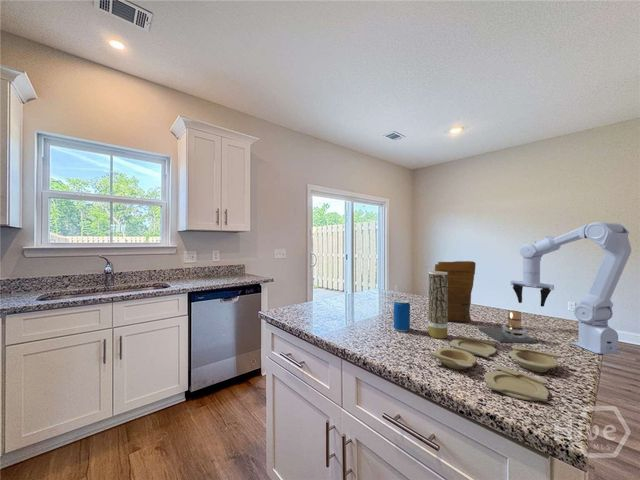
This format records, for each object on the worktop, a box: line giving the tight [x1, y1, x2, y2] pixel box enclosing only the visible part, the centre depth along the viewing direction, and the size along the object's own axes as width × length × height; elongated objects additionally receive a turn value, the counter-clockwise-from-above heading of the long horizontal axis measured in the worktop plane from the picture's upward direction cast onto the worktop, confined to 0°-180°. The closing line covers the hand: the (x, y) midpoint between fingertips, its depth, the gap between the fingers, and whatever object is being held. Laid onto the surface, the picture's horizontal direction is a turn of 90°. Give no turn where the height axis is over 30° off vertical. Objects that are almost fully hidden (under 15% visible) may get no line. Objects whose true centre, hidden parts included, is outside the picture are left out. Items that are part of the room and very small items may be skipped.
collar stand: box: [477, 323, 537, 344], centre depth 105 cm, size 14×13×4 cm
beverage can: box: [393, 299, 411, 333], centre depth 111 cm, size 6×6×12 cm
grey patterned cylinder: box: [427, 270, 448, 339], centre depth 104 cm, size 7×7×25 cm
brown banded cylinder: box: [507, 310, 522, 335], centre depth 103 cm, size 4×4×9 cm
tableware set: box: [427, 335, 562, 402], centre depth 81 cm, size 35×29×4 cm
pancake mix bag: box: [433, 260, 477, 323], centre depth 124 cm, size 7×19×28 cm, turn 84°
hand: (531, 304), depth 114 cm, fingers open, 7 cm apart
